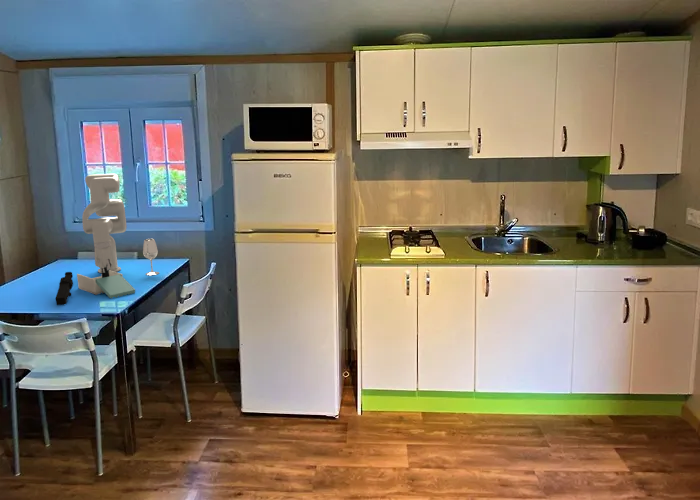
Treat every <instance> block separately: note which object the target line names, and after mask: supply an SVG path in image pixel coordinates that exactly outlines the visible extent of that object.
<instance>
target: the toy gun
mask: <svg viewBox="0 0 700 500" xmlns="http://www.w3.org/2000/svg"><path fill="white" fill-rule="evenodd" d="M73 276H74V274H73V272H72V271H65V273H64V277H61V278H60V280H59V282H58V284H59V286H58V289H57V292H56V296H55V303H56V306H63V305H64V304H66V305H67V302H68V299H69V297H72V292H71V290H72V288H73V285H74V281H73Z"/></svg>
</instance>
